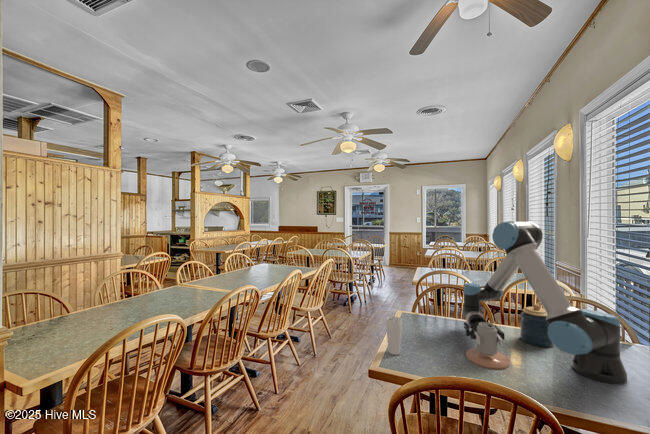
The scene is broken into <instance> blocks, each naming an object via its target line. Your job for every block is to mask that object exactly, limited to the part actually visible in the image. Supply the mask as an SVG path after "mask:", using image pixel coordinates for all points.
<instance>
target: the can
mask: <svg viewBox="0 0 650 434" xmlns="http://www.w3.org/2000/svg"><path fill="white" fill-rule="evenodd" d="M495 325H496V324H494V323H491V322H488V321H486V322H480V323H479V325H478V326H477V334H478V335H479V337H480V345H479V344H478V343H477V342H476V348H477V350H478V351H479V352H480V353H481V354H483V355H487V356H494V355H495V354H497V352H498V342H497V329H496V328H495Z"/></svg>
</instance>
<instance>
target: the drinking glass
mask: <svg viewBox="0 0 650 434" xmlns="http://www.w3.org/2000/svg"><path fill="white" fill-rule="evenodd" d="M385 321H386V322H385V324H386V327H385V328H386V339H387V352H388V353H389V354H390V355H392V356H397V355H400V354H401V351H402V350H401V349H402V347H401V346H402V345H401V344H402V333H403V319H402V318H401V317H398V316H391V315H390V316H388V317H386V320H385Z"/></svg>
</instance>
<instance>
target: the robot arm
mask: <svg viewBox="0 0 650 434" xmlns="http://www.w3.org/2000/svg"><path fill="white" fill-rule="evenodd" d="M543 238H544V236H543V231H542V229H541V227H540V226H539V225H538V224H536V223H535V222H533V221H529V220H528V221H527V220H524V221H521V220H520V221H511V220H510V221H503V222H500V223H498V224H497V225H496V226H495V227H494V228H493V231H492V241H493V244H494V245H495V246H496V247H497V248H498V249H501V250H504V251H505V253H506V255H505V256H504V258H503V259H502V260H501V262H500V264H499V265H498V266H497V267H496V269H495V271H494V272H493V273H492V275H491V276H490V278H489V280H488V281H487V282H486V284H485V285H480V284H478V283H475V282H467V283H465V284H464V285H463V307H462V309H461V311H462V315H463V318H464V319H465V320H466V322H463V328H464V330H465V337H470V339H472V340H475V342H476V344H477V343H478V344H479V345H480V337H479V335H478V334H477V326H478V325H479V323H480V322H487V320H486V319H485V317H484V316H483V315H482V313H481V302H487V301H495V300H499V299H501V298H502V297H503V295H504V289H505V287H506V286H507V285H508V284H509V282H510V280H511V279H513V277H514V276H515V275H516V273H517V271H518V270H519V269H520V271H521V272H522V274H523V276H524V278H525V279H526V280H527V282H528V284H529V286H530V288H531V289H532V291H533V293H535V295H536V297H537V299H538V301H539V302H540V304H541V306H542V308H543V309H545V310H546V312H547V317H546V321H547V322H548V324H549V327H548V331H547V332H548V336H549V339H550V340H551V342H552V343H553V346H555V348H557V349H559V351H562V352H564V353H566V354H569V355H573V359H572V368H573V369H574V370H575V371H576V372H577V373H579V374H581V375H582V376H584V377H587V378H589V379H592V380H595V381H599V382H602V383H607V384H614V385H615V384H616V385H621V384H625V383H627V381H628V374H627V371H626V367H625V366H624V364H623V361H622V358H621V328H622V327H621V321H620V318H618V317H617V316H616V315H613V314H610V313H607V312H602V311H598V310H594V309H593V310H592V309H587V308H581V309H580V308H577V307H576V306H573V304H572V303H571V302H570V300H569V299H568V297H567V295H566V294H565V292H564V291H563V289H562V288H561V286H560V285H559V283H558V282H557V280H556V278H555V277H554V275H553V274H552V272H551V271H550V269H549V268H548V266H547V265H546V263H545V262H544V260H543V259H542V257H541V256H540V255H539V252H538V251H537V249H538V248H539V247H540V245H541V243H542V242H543ZM494 325H495V328H496V329H497V345H498V346H500V347H502V348H503V345H504V343H503V341H504V340H505V332H504V331H502V330H501V329H500V328H499V327H498V326H497V325H496V324H494ZM470 329H471V331H470Z"/></svg>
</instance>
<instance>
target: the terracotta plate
mask: <svg viewBox="0 0 650 434" xmlns="http://www.w3.org/2000/svg"><path fill="white" fill-rule="evenodd" d="M465 355H466V356H465V357H466V359H467V360H468V361H470V362H471V363H472V364H474V365H477V366H480V367H483V368H487V369H492V370H503V369H507V368H509V367H510V364H511V360H510V358H509V357H507V355H505V354H503V353H501V352H499V351H497V354H495V355H494V356H487V355H483V354H481V353H480V352H479V351H478V350H477V347H475V348H474V347H472V348H469V349H467V350H466V353H465Z"/></svg>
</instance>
